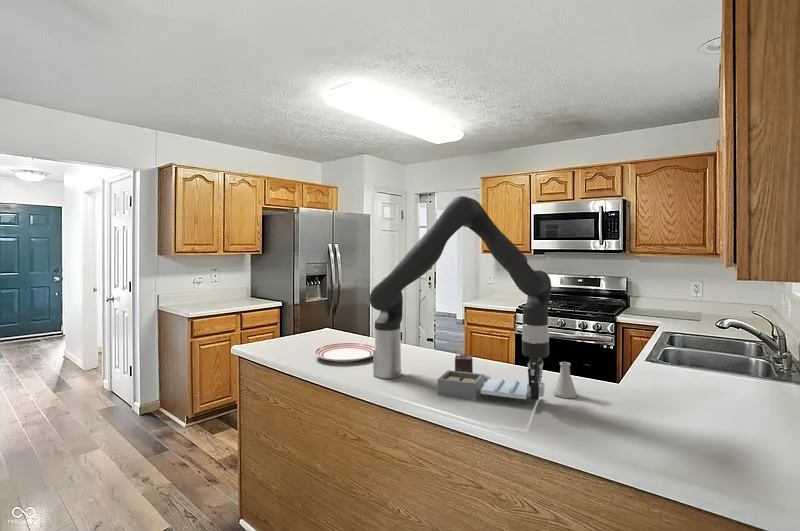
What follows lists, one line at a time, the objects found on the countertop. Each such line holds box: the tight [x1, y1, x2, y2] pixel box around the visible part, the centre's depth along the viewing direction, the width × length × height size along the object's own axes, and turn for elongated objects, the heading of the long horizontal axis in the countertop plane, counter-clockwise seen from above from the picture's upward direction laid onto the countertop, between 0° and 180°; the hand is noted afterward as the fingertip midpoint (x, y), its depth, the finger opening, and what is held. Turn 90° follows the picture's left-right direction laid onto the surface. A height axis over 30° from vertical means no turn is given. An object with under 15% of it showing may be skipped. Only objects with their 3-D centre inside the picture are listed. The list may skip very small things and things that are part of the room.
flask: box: [552, 361, 578, 399], centre depth 134 cm, size 7×7×10 cm
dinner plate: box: [313, 341, 375, 363], centre depth 184 cm, size 27×27×3 cm
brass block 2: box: [462, 378, 476, 382], centre depth 135 cm, size 4×4×4 cm
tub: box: [437, 369, 485, 401], centre depth 136 cm, size 12×10×6 cm
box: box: [454, 354, 474, 373], centre depth 153 cm, size 6×6×7 cm
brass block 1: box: [447, 376, 461, 381], centre depth 137 cm, size 4×4×4 cm
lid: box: [480, 378, 545, 400], centre depth 130 cm, size 17×11×3 cm, turn 66°
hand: (535, 396), depth 127 cm, fingers closed on lid, 3 cm apart
